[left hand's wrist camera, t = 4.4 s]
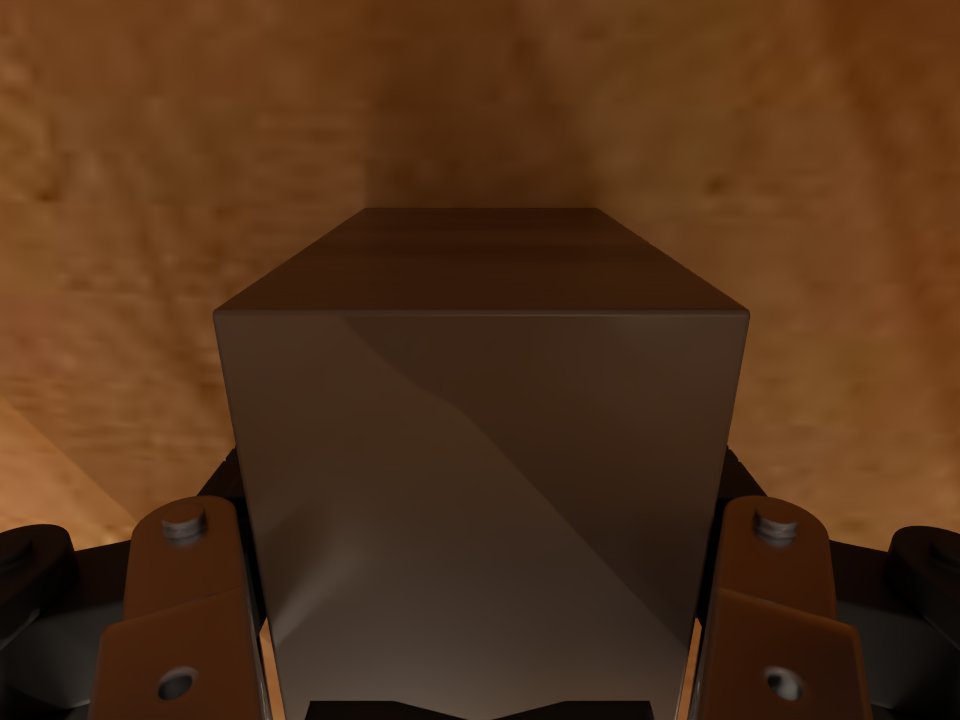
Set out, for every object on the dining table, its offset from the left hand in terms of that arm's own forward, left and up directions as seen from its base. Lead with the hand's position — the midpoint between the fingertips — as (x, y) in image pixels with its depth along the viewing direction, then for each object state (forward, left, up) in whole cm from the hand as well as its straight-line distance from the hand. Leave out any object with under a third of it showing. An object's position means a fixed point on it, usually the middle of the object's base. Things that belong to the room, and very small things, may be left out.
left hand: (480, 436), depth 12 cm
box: (+7, 0, -5) cm, 8 cm away
